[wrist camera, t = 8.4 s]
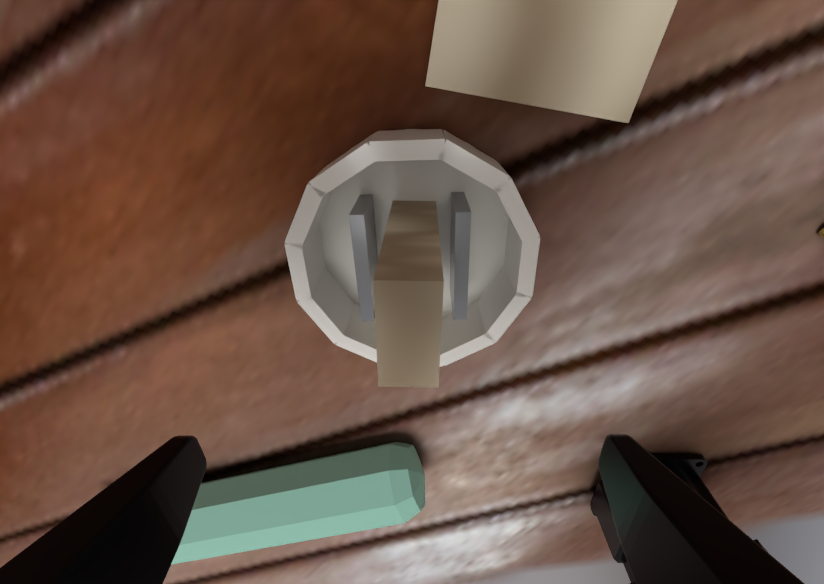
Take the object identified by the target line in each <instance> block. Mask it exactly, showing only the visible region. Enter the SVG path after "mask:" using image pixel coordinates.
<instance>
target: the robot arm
mask: <svg viewBox="0 0 824 584" xmlns="http://www.w3.org/2000/svg"><path fill="white" fill-rule="evenodd" d="M707 463H708V462H707V461H706V459H705V458H704V457H703V455H700V454H650V453H649V452H648V451H647V450H646V449H644V448H643V447H642V446H641V445H640V444H639V443H637V442H636V441H635V440H634V439H633V438H631V437H630V436H628V435H624V434H610V435H608V436H607V437H606V438H605V441H604V444H603V447H602V450H601V454H600V457H599V470H600V474H601V477H600V480H599V481H598V483H597V486H596V489H595V493H594V496H593V499H592V505H591V510H592V513H593V514H594V515H595V516H597V518H598V520H599V523H600V525H601V528H602V530H603V533H604V535H605V538H606V541H607V543H608V546H609V548H610V551H611V553H612V556H613V558H614V560H615V561H617V562H618V563H623V564H624V566H625V569H626V571H627V574H628V576H629V579H630V581H631V583H630V584H804V583H803V582H802V581H801V580H799V579H798V578H797V577H796V576H795V575H793V574H792V573H791V572H790V571H789V570H788V569H786V568H785V567H784V566H783V565H782V564H780V563H779V562H778V561H777V560H776V559H774V558H773V557H772V556H771V555H770V554H769V553H768V552H767V551H766V549H765V548H764V547H763V546H762V545H761V543H760V542H759V541H758V540H757V539H756V540H752V539H751V538H750V537H749V536H747V535H746V534H745V533H744V532H743V531H741V530H740V529H739V528H738V527H737V526H736V525H734V524H733V523H732V522H731V521H730V520H729V519H728V518H727V516H726V515H725V513H724V512H723V510H722V509H721V507H720V506H719V505H718V503H717V502H716V500H715V499H714V497H713V496H712V494H711V493H710V491H709V490H708V489H707V487H706V486H705V484H704V483H703V481H702V480H701V478H700V477H701V475H702V473H703V471H704V469H705V468H706V466H707ZM205 470H206V458H205V456H204V453H203V451H202V449H201V447H200V445H199V442H198V440H197V438H196V437H194V436H175V437H173V438H171V439H170V440H169V441H167V442H166V443H165V444H163V445H162V446H161V447H159V448H158V449H157V450H155V451H154V452H153V453H151V454H150V455H149V456H147V457H146V458H145V459H144V460H142V461H141V462H140V463H138V464H137V465H136V466H134V467H133V468H132V469H130V470H129V471H128V472H126V473H125V474H124V475H122V476H121V477H120V478H118V479H117V480H116V481H114V482H113V483H112V484H111V485H109V486H108V487H107V488H105V489H104V490H103V491H101V492H100V493H99V494H97V495H96V496H95V497H93V498H92V499H91V500H89V501H88V502H87V503H85V504H84V505H83V506H81V507H80V508H79V509H77V510H76V511H75V512H74V513H72V514H71V515H70V516H68V517H67V518H66V519H64V520H63V521H62V522H60V523H59V524H58V525H56V526H55V527H54V528H52V529H51V530H50V531H48V532H47V533H46V534H44V535H43V536H42V537H41V538H39V539H38V540H37V541H35V542H34V543H33V544H31V545H30V546H29V547H27V548H26V549H25V550H23V551H22V552H21V553H19V554H18V555H17V556H15V557H14V558H13V559H11V560H10V561H9V562H7V563H6V564H5V565H4V566H2V567H1V568H0V584H163V581H164V579H165V577H166V575H167V572H168V570H169V568H170V566H171V563H172V561H173V559H174V557H175V554H176V552H177V550H178V547H179V545H180V543H181V540H182V537H183V535H184V532H185V529H186V526H187V523H188V520H189V517H190V514H191V511H192V509H193V506H194V503H195V500H196V497H197V494H198V491H199V488H200V485H201V482H202V479H203V476H204V473H205Z"/></svg>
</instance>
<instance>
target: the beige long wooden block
mask: <svg viewBox="0 0 824 584" xmlns="http://www.w3.org/2000/svg"><path fill="white" fill-rule="evenodd" d="M443 287H444V278H443V268H442V258H441V248H440V238H439V227H438V217H437V207H436V201H401V200H393V201H392V205H391V210H390V214H389V218H388V222H387V226H386V230H385V234H384V238H383V242H382V246H381V250H380V254H379V258H378V262H377V266H376V270H375V274H374V278H373V290H374V310H375V330H376V349H377V369H378V386H380V387H425V388H438V385H439V366H440V346H441V327H442V307H443Z"/></svg>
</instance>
